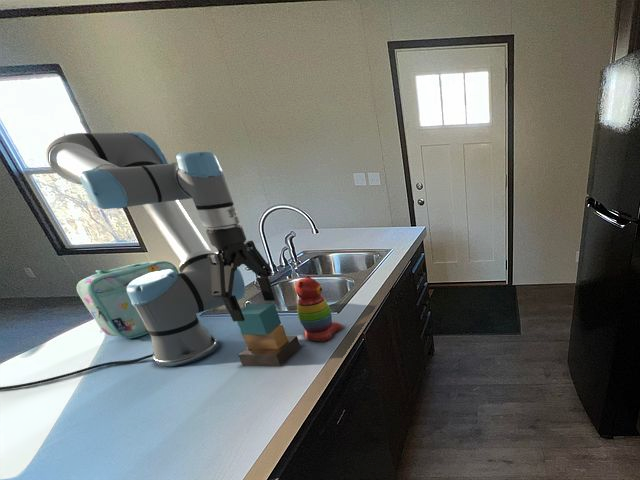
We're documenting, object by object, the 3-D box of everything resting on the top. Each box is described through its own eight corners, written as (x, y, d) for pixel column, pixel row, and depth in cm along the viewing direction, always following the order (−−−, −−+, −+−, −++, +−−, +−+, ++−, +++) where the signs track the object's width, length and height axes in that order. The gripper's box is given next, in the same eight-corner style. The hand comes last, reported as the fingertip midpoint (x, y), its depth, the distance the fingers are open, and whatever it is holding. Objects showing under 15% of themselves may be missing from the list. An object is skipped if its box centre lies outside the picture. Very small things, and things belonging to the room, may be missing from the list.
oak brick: (248, 349, 104) (241, 333, 101) (258, 340, 108) (252, 324, 105) (278, 349, 103) (272, 333, 100) (288, 340, 107) (282, 324, 104)
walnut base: (242, 365, 103) (237, 354, 101) (265, 346, 112) (261, 335, 111) (280, 366, 102) (276, 354, 100) (300, 346, 111) (297, 335, 109)
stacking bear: (326, 342, 113) (310, 285, 104) (296, 340, 115) (278, 284, 106) (344, 326, 122) (331, 272, 113) (316, 325, 124) (301, 272, 115)
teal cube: (242, 334, 100) (233, 314, 97) (258, 323, 106) (250, 303, 103) (267, 334, 99) (259, 313, 96) (281, 323, 105) (274, 303, 102)
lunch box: (120, 346, 117) (79, 280, 106) (101, 342, 120) (59, 277, 109) (202, 312, 138) (175, 254, 127) (184, 309, 141) (156, 252, 130)
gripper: (199, 238, 78) (238, 330, 89) (268, 216, 99) (293, 292, 110) (166, 239, 79) (209, 330, 89) (241, 217, 100) (269, 293, 111)
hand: (255, 309), depth 100 cm, fingers open, 13 cm apart
